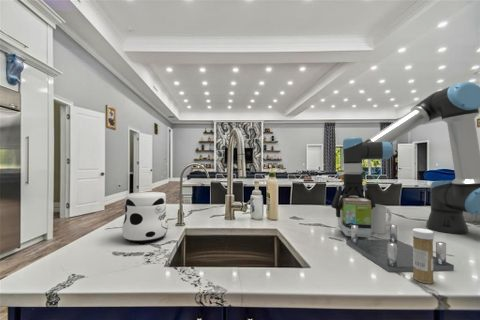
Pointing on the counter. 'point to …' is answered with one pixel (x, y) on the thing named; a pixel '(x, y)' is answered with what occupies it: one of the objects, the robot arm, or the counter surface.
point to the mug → (379, 219)
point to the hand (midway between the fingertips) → (353, 224)
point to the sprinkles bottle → (423, 255)
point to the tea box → (356, 215)
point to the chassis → (395, 252)
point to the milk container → (145, 216)
